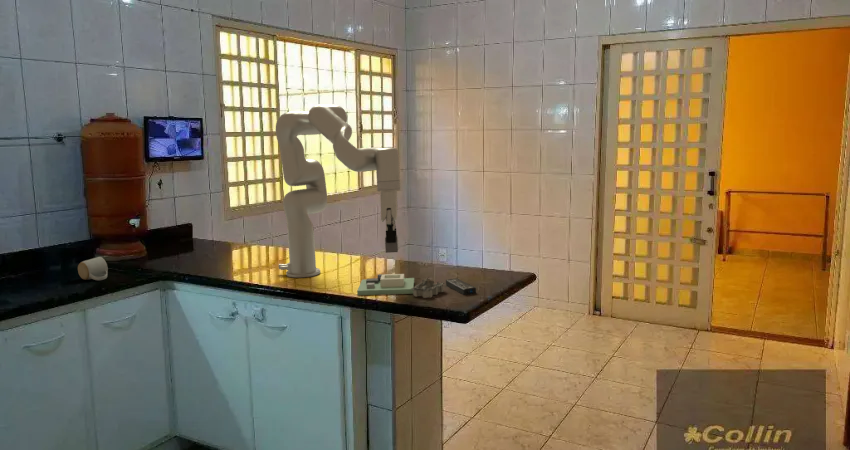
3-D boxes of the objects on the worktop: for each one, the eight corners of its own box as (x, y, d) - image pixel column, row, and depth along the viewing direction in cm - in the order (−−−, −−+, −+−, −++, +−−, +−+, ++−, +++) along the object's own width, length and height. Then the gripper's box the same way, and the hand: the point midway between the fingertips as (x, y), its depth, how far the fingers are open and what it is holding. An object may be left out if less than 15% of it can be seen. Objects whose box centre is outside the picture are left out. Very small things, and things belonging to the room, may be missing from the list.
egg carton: (428, 288, 207) (427, 276, 207) (447, 291, 203) (446, 279, 202) (409, 296, 199) (408, 283, 198) (428, 299, 194) (427, 286, 194)
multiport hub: (457, 284, 212) (457, 278, 212) (476, 294, 199) (476, 287, 198) (445, 286, 210) (445, 279, 210) (464, 296, 197) (464, 289, 197)
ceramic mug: (77, 279, 237) (75, 259, 236) (98, 274, 244) (96, 255, 243) (93, 282, 232) (91, 262, 231) (114, 278, 239) (112, 258, 237)
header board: (357, 295, 201) (356, 283, 201) (362, 283, 216) (361, 272, 215) (413, 293, 201) (412, 281, 200) (414, 282, 216) (413, 270, 215)
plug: (385, 252, 205) (384, 224, 203) (386, 250, 208) (384, 223, 207) (397, 252, 205) (396, 224, 203) (398, 250, 208) (397, 222, 207)
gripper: (379, 184, 211) (382, 237, 214) (375, 188, 195) (378, 246, 198) (401, 183, 211) (403, 236, 214) (398, 187, 195) (401, 245, 198)
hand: (391, 240), depth 206 cm, fingers closed on plug, 3 cm apart
